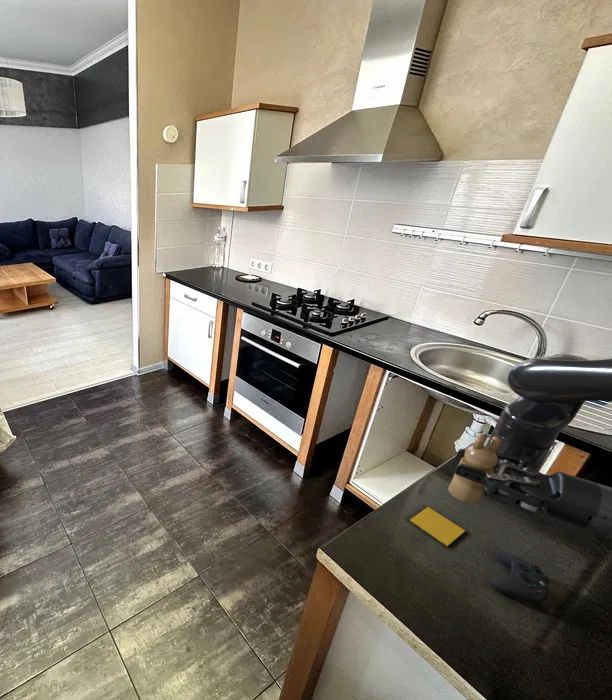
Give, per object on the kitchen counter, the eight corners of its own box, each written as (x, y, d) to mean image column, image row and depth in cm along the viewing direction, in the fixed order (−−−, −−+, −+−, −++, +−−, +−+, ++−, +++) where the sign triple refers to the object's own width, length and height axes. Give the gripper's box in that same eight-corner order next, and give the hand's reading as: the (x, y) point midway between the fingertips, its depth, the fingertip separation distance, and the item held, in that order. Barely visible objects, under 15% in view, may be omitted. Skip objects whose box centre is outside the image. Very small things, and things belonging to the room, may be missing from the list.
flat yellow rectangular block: (427, 507, 82) (428, 506, 81) (464, 531, 76) (465, 530, 76) (409, 520, 78) (410, 519, 78) (447, 546, 73) (447, 545, 73)
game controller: (494, 549, 71) (534, 548, 67) (512, 576, 70) (554, 576, 66) (487, 583, 65) (531, 585, 61) (507, 613, 64) (553, 617, 60)
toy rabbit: (445, 482, 73) (469, 425, 67) (474, 489, 71) (501, 431, 66) (452, 499, 69) (478, 440, 64) (483, 507, 67) (512, 447, 62)
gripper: (592, 463, 63) (464, 426, 73) (616, 517, 53) (463, 465, 62) (571, 496, 66) (451, 456, 76) (590, 554, 56) (448, 499, 65)
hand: (457, 460), depth 69 cm, fingers closed on toy rabbit, 4 cm apart
